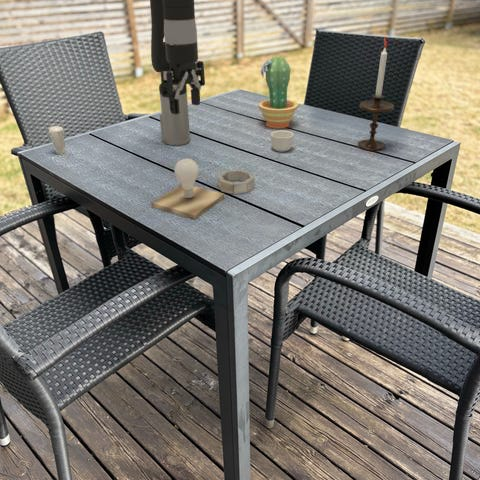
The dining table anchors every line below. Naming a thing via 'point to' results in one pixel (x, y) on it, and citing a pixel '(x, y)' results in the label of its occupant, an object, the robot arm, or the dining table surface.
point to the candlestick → (376, 108)
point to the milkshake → (58, 139)
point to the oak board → (188, 201)
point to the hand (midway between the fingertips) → (185, 109)
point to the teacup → (282, 140)
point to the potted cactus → (277, 94)
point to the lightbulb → (187, 175)
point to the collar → (237, 186)
